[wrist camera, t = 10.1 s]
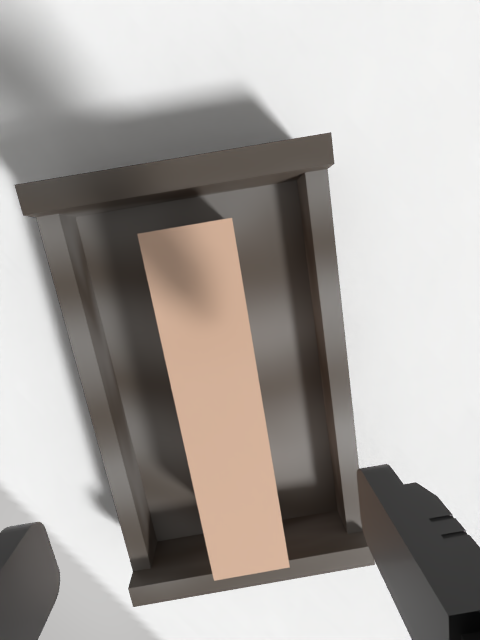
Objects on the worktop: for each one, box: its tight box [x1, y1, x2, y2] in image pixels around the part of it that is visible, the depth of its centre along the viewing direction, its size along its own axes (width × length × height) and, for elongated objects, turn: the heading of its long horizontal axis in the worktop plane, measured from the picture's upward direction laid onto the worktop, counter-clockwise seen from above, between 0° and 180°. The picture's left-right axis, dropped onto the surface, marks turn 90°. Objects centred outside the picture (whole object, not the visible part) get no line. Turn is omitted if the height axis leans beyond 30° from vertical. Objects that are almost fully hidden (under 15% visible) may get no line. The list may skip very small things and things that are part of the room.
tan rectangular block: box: [137, 218, 290, 581], centre depth 17 cm, size 16×4×4 cm, turn 9°
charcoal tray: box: [15, 133, 375, 607], centre depth 18 cm, size 21×13×4 cm, turn 9°
